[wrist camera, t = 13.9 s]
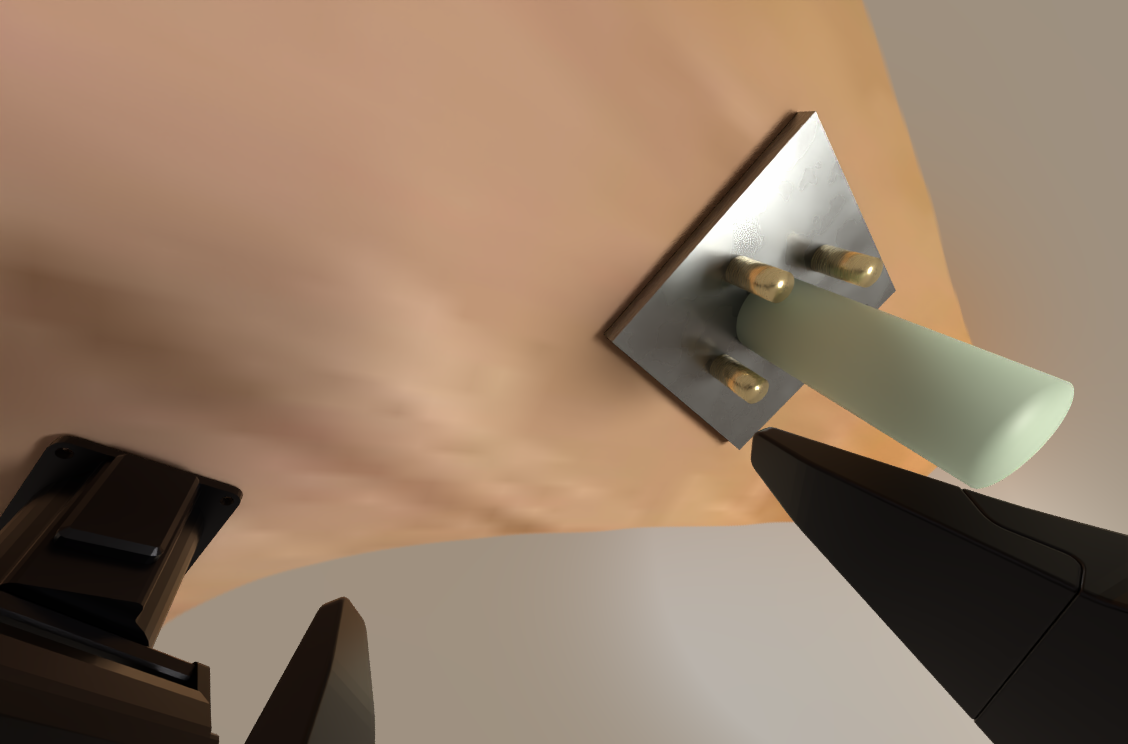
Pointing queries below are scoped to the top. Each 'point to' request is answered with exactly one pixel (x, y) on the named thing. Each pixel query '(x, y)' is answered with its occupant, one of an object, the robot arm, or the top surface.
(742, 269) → the chassis plate
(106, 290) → the top surface
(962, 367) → the mint green tapered post
